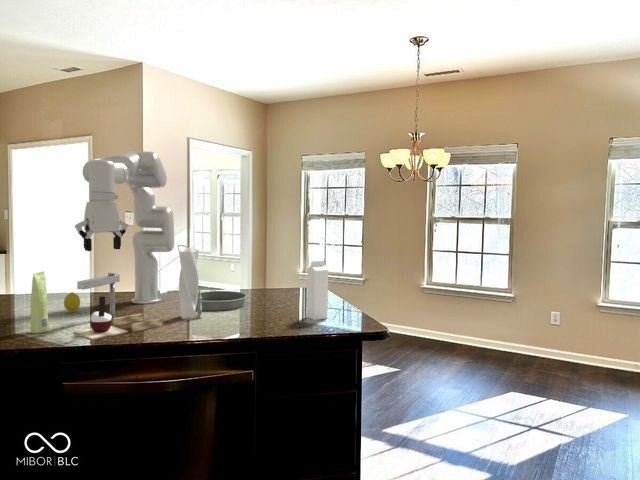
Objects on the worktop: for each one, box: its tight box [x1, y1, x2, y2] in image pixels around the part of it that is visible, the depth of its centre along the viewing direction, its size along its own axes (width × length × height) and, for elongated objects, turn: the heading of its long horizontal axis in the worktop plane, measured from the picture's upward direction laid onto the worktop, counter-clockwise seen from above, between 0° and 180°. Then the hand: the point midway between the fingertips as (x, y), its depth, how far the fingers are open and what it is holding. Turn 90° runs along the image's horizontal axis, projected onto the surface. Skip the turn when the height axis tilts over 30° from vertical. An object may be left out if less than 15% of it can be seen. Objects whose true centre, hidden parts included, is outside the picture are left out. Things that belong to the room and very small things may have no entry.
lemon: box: [63, 291, 81, 313], centre depth 179 cm, size 6×6×8 cm
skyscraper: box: [177, 244, 203, 321], centre depth 174 cm, size 8×8×28 cm
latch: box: [76, 272, 121, 320], centre depth 163 cm, size 20×3×17 cm, turn 170°
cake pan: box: [196, 290, 248, 311], centre depth 199 cm, size 25×25×4 cm
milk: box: [306, 260, 329, 321], centre depth 177 cm, size 6×6×22 cm
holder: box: [112, 313, 163, 332], centre depth 160 cm, size 11×13×2 cm
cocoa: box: [90, 296, 113, 332], centre depth 149 cm, size 10×6×12 cm, turn 8°
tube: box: [30, 271, 49, 334], centre depth 149 cm, size 6×5×20 cm
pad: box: [72, 325, 129, 341], centre depth 149 cm, size 12×12×1 cm
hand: (102, 249), depth 151 cm, fingers open, 9 cm apart
